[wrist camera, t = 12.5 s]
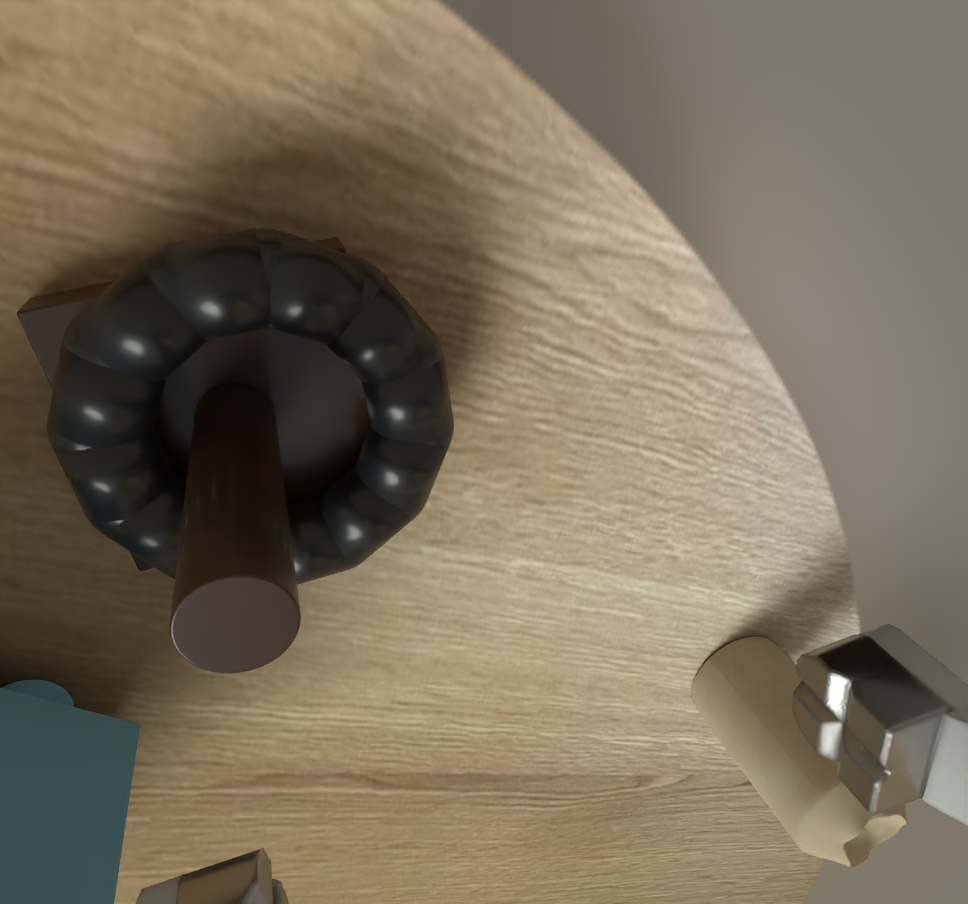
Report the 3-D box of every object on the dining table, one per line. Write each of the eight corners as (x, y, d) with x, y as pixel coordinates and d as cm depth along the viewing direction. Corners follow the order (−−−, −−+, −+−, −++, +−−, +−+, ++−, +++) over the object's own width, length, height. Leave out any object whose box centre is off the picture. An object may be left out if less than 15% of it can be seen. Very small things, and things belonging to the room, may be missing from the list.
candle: (726, 725, 40) (857, 897, 32) (670, 694, 37) (799, 872, 29) (795, 657, 39) (950, 815, 31) (744, 619, 36) (899, 781, 28)
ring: (407, 193, 21) (428, 207, 19) (459, 508, 26) (480, 547, 24) (-10, 268, 18) (-43, 293, 16) (143, 596, 24) (134, 648, 22)
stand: (338, 236, 22) (421, 356, 12) (393, 478, 27) (486, 708, 17) (28, 298, 20) (-161, 496, 11) (144, 547, 25) (86, 847, 15)
